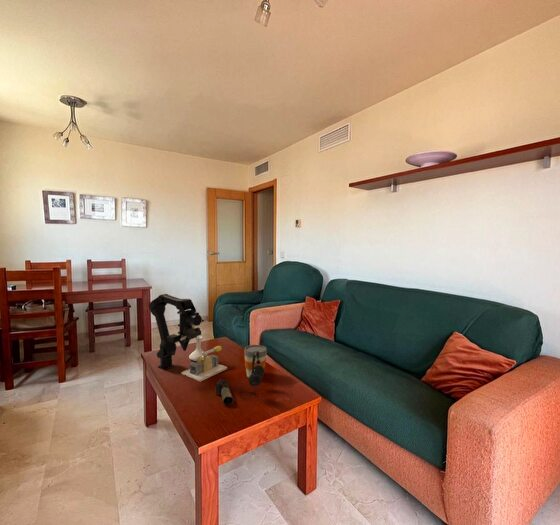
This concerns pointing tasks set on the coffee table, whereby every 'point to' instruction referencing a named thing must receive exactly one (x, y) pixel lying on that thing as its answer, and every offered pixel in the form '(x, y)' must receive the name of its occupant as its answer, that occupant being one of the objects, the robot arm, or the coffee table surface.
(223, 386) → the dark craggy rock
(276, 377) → the coffee table surface
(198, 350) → the white rounded piece
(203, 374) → the mounting board
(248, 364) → the reusable coffee cup
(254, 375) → the headphones
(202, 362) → the blocks
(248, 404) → the coffee table surface
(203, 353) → the valve lever
